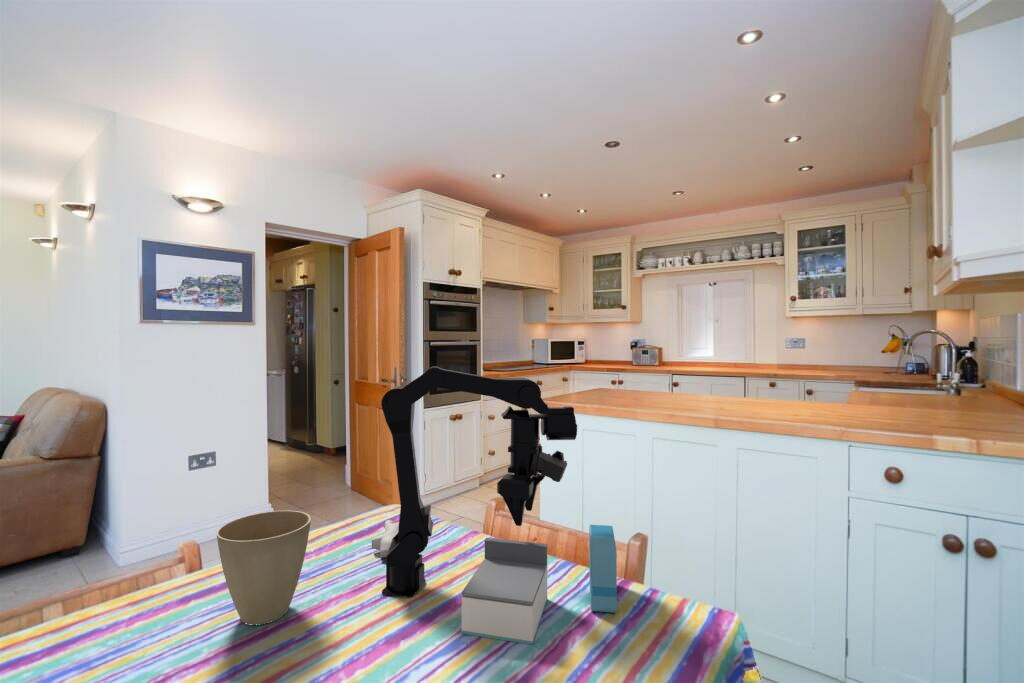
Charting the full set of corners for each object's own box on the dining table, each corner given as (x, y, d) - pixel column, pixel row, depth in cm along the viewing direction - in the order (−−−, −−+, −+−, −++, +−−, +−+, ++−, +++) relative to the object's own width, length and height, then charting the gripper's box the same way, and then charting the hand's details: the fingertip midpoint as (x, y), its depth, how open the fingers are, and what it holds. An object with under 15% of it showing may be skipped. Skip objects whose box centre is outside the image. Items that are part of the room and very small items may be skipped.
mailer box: (461, 633, 78) (461, 597, 78) (486, 590, 92) (486, 559, 92) (532, 644, 75) (532, 606, 75) (547, 598, 89) (547, 566, 89)
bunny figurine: (366, 544, 104) (381, 512, 119) (367, 566, 105) (381, 531, 119) (410, 543, 105) (419, 511, 119) (410, 565, 105) (419, 531, 120)
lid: (461, 595, 78) (461, 571, 78) (486, 558, 92) (486, 537, 92) (532, 604, 75) (532, 579, 75) (547, 565, 89) (547, 544, 89)
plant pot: (328, 602, 88) (328, 516, 88) (255, 649, 74) (255, 547, 74) (273, 585, 94) (273, 505, 94) (196, 625, 80) (196, 531, 81)
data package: (616, 616, 83) (616, 548, 83) (590, 614, 84) (590, 547, 84) (612, 582, 95) (611, 523, 95) (589, 581, 96) (589, 522, 96)
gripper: (555, 453, 85) (555, 540, 84) (570, 434, 103) (570, 506, 102) (496, 449, 88) (495, 533, 87) (521, 431, 106) (520, 501, 105)
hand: (524, 517), depth 96 cm, fingers open, 8 cm apart
